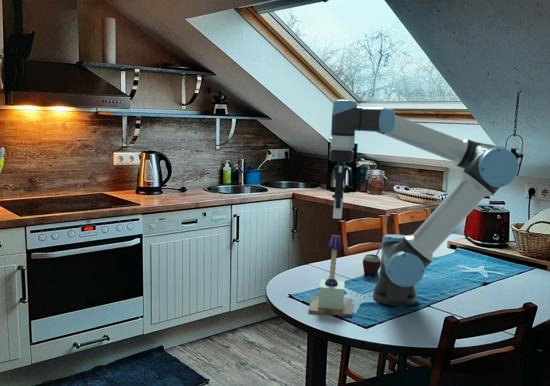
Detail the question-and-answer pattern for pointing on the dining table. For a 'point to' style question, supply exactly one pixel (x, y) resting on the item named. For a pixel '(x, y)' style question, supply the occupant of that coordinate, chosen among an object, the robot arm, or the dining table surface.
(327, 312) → the walnut board
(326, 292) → the sage block
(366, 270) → the mate gourd
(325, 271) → the dining table surface
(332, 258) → the toy lamp
